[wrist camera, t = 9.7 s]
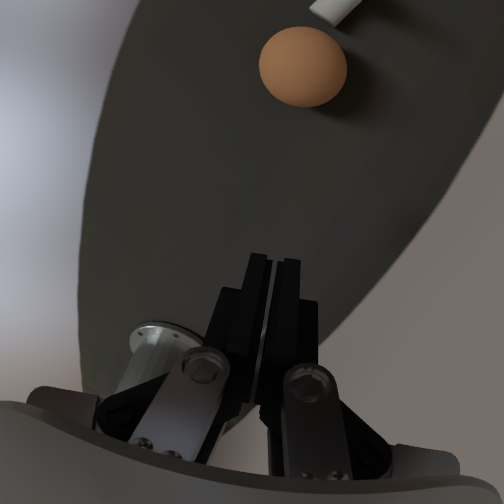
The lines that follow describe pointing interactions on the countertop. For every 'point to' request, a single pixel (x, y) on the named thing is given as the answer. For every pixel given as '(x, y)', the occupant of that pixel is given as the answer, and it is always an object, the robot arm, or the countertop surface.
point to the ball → (303, 67)
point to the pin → (333, 10)
